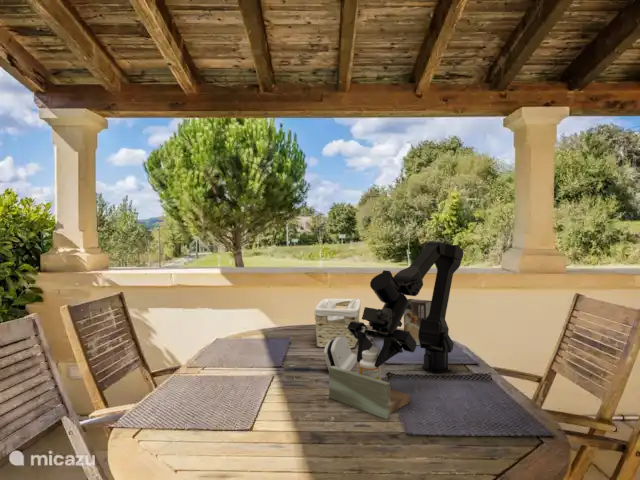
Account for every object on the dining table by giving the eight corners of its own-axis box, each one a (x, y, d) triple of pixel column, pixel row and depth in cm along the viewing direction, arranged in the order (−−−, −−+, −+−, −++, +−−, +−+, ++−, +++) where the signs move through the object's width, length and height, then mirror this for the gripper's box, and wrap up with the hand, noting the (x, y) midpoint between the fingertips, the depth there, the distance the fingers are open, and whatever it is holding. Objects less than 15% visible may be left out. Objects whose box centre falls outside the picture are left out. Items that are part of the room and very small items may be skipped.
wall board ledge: (357, 385, 122) (357, 357, 122) (413, 403, 110) (413, 372, 109) (329, 397, 114) (328, 367, 114) (386, 418, 101) (386, 384, 101)
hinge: (346, 376, 130) (334, 344, 130) (331, 380, 131) (320, 348, 132) (358, 359, 146) (347, 330, 146) (345, 363, 147) (335, 334, 148)
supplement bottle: (364, 384, 115) (364, 347, 115) (384, 388, 113) (383, 350, 112) (356, 391, 110) (355, 353, 110) (376, 395, 108) (376, 356, 107)
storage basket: (322, 332, 182) (322, 297, 182) (361, 333, 180) (361, 297, 179) (313, 349, 158) (313, 308, 158) (358, 350, 156) (358, 309, 156)
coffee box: (432, 343, 164) (432, 300, 164) (426, 347, 159) (426, 303, 158) (409, 339, 170) (409, 298, 169) (402, 343, 164) (402, 300, 164)
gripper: (351, 291, 120) (323, 339, 112) (409, 299, 107) (383, 354, 99) (369, 315, 126) (344, 362, 118) (427, 325, 113) (403, 379, 105)
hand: (366, 364), depth 110 cm, fingers closed on supplement bottle, 5 cm apart
